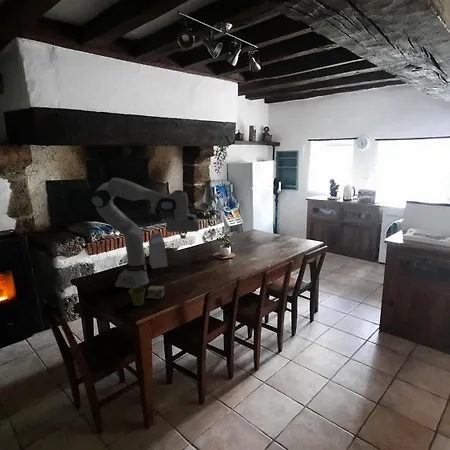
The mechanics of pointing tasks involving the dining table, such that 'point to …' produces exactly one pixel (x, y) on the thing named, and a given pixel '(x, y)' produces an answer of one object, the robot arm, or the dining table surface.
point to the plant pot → (137, 295)
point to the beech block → (156, 291)
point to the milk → (157, 251)
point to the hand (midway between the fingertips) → (183, 238)
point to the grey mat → (154, 297)
